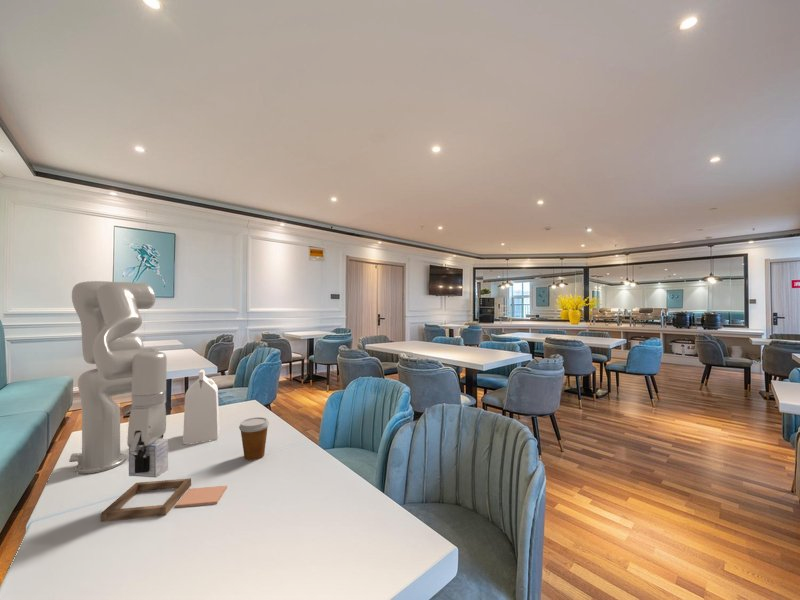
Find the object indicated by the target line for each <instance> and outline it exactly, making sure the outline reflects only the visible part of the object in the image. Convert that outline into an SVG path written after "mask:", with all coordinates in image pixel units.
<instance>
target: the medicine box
mask: <svg viewBox="0 0 800 600" xmlns="http://www.w3.org/2000/svg"><path fill="white" fill-rule="evenodd" d="M140 445H144V442H141V443H140ZM130 448H131V447H128V476H129V477H141V478H143V477H144V478H158V477H159V476H161V475H162V474H164V473H166V472H167V471H168V470H169V439H167V438H163V439H159V438H158V439H157V440H155V441H154V442H153V443H151V444H150V445H149V451H148V456H150V469H149V471H148V472H146V473H135V459H134V456H133V454H132V453H130V452H129V450H130ZM144 448H145V447H140V450H143V451H144Z"/></svg>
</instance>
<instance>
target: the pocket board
mask: <svg viewBox="0 0 800 600" xmlns="http://www.w3.org/2000/svg"><path fill="white" fill-rule="evenodd" d="M191 486H192V478H191V477H190V478H177V479H176V478H175V479H166V480H165V479H163V480H155V481H152V480H151V481H143V482H142V481H140V482H135V483H134V484H132V486H131V487H129V488H128V489H127V490H126V491H125V492H124V493H122V494H121V495H120V496H119V497H118V498H117V499H116V500H115V501H113V502H112V503H110V504H109V506H107V508H105V509H104V510H102V512H100V522H109V521H119V520H120V521H121V520H131V519H141V518H142V519H143V518H152V517H162V516H167V515H168V513H169V512H170V511H171V510H172V509H173V508H174V507H175V506H176V504H177V503H178V502H179V500H180V499H181V498H182V497H183V496H184V494H185V493H186V492H187V491H188V490H189V489H190V487H191ZM175 489H176V490H175ZM163 490H165V491H166V490H175V491H174V492H173V493H172V494H171V496H170V497H168V499H166V501H165V502H164V503H163V504H158V505H147V506H146V505H145V506H136V507H128V508H127V507H126V508H124V507H123V506H124V505H125V504H126V503H128V502H129V501H130V500H131V499H132V498H133V497H134V496H135V495H137V494H138V493H140V492H150V491H163Z"/></svg>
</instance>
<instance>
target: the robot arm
mask: <svg viewBox="0 0 800 600" xmlns="http://www.w3.org/2000/svg"><path fill="white" fill-rule="evenodd" d="M71 301H72V305H73V308H74V311H75V313H76V314H77V317H78V318H79V322H80V325H81V327H80V328H81V346H82V347H81V348H82V356H83V360H84V362H86V363H87V364H90V365H95V367H96V368H92V369H89V370H87V371H84V372H83V373H81V375H80V376H78V380H77V387H78V392H79V393H78V394H79V396H80V397H79V399H80V405H81V452H74V453H73V452H72V453H71V455H70V457H69V459H68V461H69V463H73V462H74V463H75V462H77V465H76V466H75V470H76V471H75V472H76V473H77V472H78V474H81V473H88V474H95V472H96V473H100V471H101V472H105V471H107V470H110V469H114V468H116V467H118V466H121V465H122V464H123V463H125V461H126V460H127V455H126V453H125V454H124V453H121V408H120V406H119V404H118V403H117V402H116V401H114V400H113V399H111V397H113V396H117V395H122V394H123V395H124V394H128V393H131V408H130V414H129V418H128V427H127V440H126V442H127V447H128V448H129V447H131V448H130V450H129V449H128V453H129V452H130V453H132V454H133V456H134V459H135V473H146V472H148V471H149V469H150V456H148V451H149V445H150V444H151V443H153V442H154V441H155V440H157V439H158V438H159V439H164V434H165V433H166V431H167V409H166V403H167V363H168V362H167V355H166V353H165V352H162V351H159V350H158V348H157V349H156V348H155V347H154V348H153V347H145V346H144V342H143V340H142V338H141V336H140V335H138V334H136V333H134V332H136V331H137V330H138V329H140V327H141V326H142V324H143V319H142V316H141V313H140V311H139V310H147V309H151V308H152V307H154V305H155V302H156V293H155V290H154V288H153V287H152V286H151V285H150V284H148V283H144V282H143V283H142V282H131V281H130V282H127V281H126V282H125V281H101V280H91V281H89V280H88V281H82V282H79V283H76V284H75V285H74V286H73V288H72V291H71ZM141 442H144V445H140V443H141ZM140 447H145V448H144V451H143V450H140Z"/></svg>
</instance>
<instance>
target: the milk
mask: <svg viewBox="0 0 800 600" xmlns="http://www.w3.org/2000/svg"><path fill="white" fill-rule="evenodd" d="M183 410H184V411H183V413H184V414H183V415H184V416H183V433H182V445H183V444H188V445H191V444H190V443H194V444H197V443H196V442H201V443H203V442H202V441H207V442H210V441H209V440H214V441H216V440H215V439H218V440H219V435H218V434H219V433H220V415H219V414H220V413H219V411H220V410H219V388H218V384H216V382H215V381H214V380H213V379H212V378H208V377H207V376H206V372H205V369H199V372H198V378H197V379H196V380H195V381H194V382H193V383H192V384H191V385H190V386H189V387H188V389H187V390H186V392H185V395H184V409H183Z"/></svg>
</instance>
